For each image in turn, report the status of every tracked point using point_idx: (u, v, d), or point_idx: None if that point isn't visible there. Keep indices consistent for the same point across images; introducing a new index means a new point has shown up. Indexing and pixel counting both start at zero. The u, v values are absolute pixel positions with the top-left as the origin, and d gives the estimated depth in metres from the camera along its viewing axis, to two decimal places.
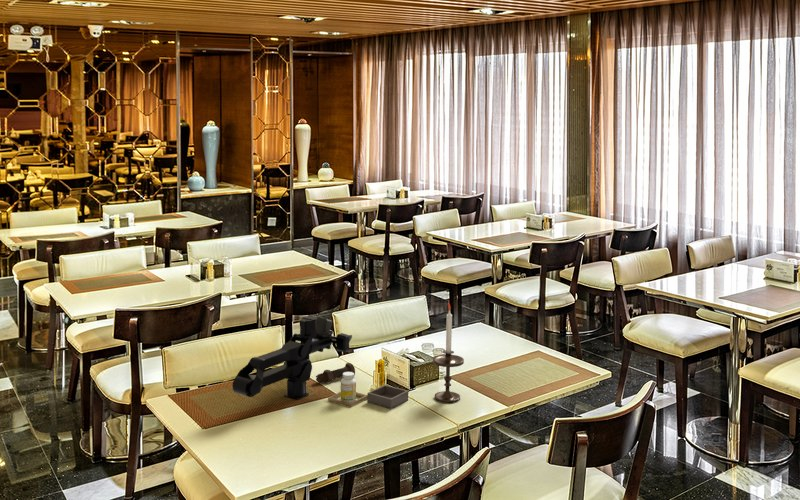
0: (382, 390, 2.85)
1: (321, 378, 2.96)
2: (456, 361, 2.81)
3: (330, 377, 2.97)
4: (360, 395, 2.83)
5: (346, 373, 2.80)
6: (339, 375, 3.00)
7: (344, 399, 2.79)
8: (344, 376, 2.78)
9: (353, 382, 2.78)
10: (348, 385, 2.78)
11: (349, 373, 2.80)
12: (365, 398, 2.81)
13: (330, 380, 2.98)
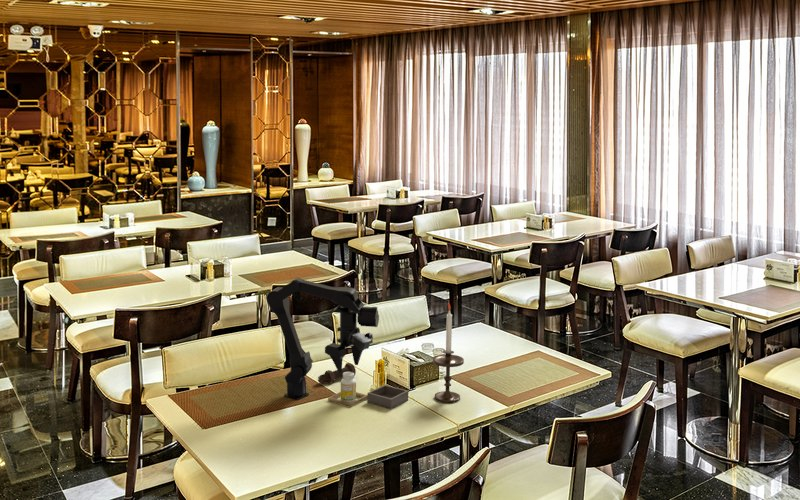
0: (382, 390, 2.85)
1: (324, 379, 2.95)
2: (456, 361, 2.81)
3: (332, 378, 2.96)
4: (360, 395, 2.83)
5: (346, 373, 2.80)
6: (340, 375, 3.00)
7: (344, 399, 2.79)
8: (344, 376, 2.78)
9: (353, 382, 2.78)
10: (348, 385, 2.78)
11: (349, 373, 2.80)
12: (365, 398, 2.81)
13: (332, 381, 2.97)
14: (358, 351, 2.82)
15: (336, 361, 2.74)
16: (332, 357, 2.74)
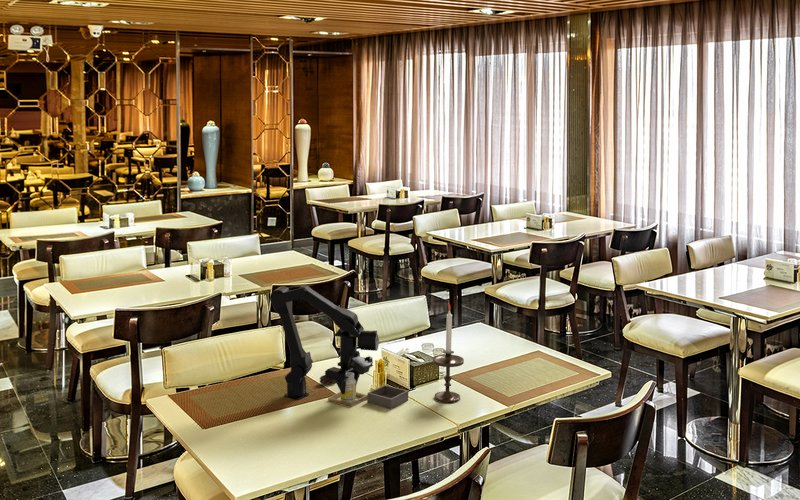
0: (382, 390, 2.85)
1: (326, 379, 2.94)
2: (456, 361, 2.81)
3: None
4: (360, 395, 2.83)
5: (346, 373, 2.80)
6: None
7: (344, 399, 2.79)
8: None
9: (353, 382, 2.78)
10: (348, 385, 2.78)
11: (349, 373, 2.80)
12: (365, 398, 2.81)
13: (334, 381, 2.97)
14: (355, 375, 2.82)
15: (339, 383, 2.77)
16: (335, 379, 2.77)
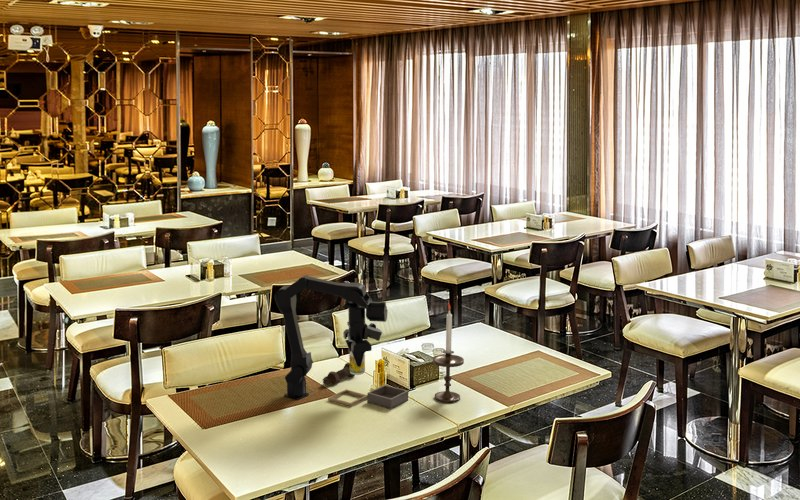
0: (382, 390, 2.85)
1: (329, 380, 2.93)
2: (456, 361, 2.81)
3: (337, 378, 2.96)
4: (360, 395, 2.83)
5: None
6: (343, 376, 3.00)
7: (359, 372, 2.77)
8: None
9: (364, 353, 2.78)
10: (363, 357, 2.76)
11: None
12: (365, 398, 2.81)
13: (337, 382, 2.96)
14: None
15: (358, 356, 2.74)
16: (354, 353, 2.73)
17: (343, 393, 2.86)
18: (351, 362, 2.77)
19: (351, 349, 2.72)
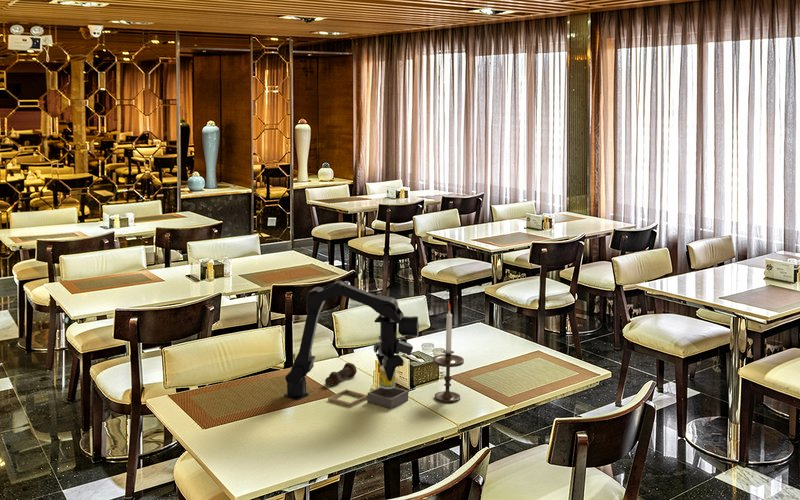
0: (382, 390, 2.85)
1: (332, 381, 2.93)
2: (456, 361, 2.81)
3: (339, 379, 2.95)
4: (360, 395, 2.83)
5: None
6: (344, 376, 3.00)
7: (390, 386, 2.77)
8: None
9: None
10: (394, 371, 2.76)
11: None
12: (365, 398, 2.81)
13: (339, 382, 2.96)
14: None
15: (389, 371, 2.74)
16: (386, 368, 2.73)
17: (343, 393, 2.86)
18: (382, 376, 2.77)
19: (383, 364, 2.72)
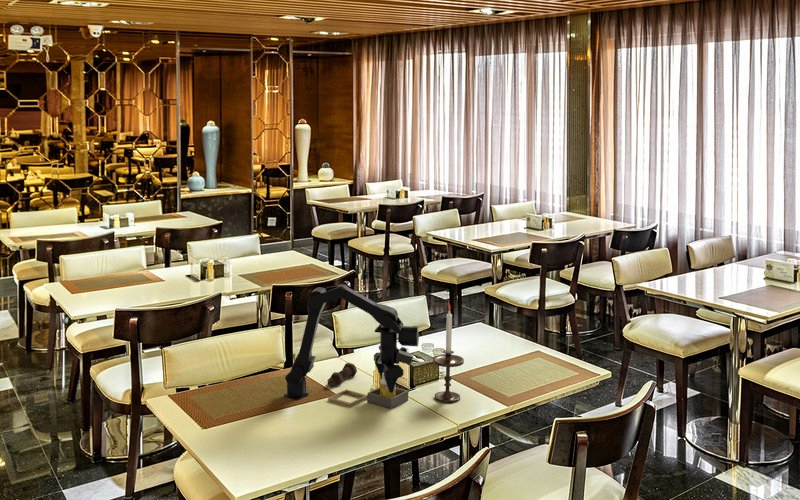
0: None
1: (335, 381, 2.93)
2: (456, 361, 2.81)
3: (341, 379, 2.95)
4: (360, 395, 2.83)
5: None
6: (345, 376, 3.00)
7: None
8: None
9: None
10: None
11: None
12: (365, 398, 2.81)
13: (341, 382, 2.96)
14: None
15: (390, 383, 2.73)
16: (387, 379, 2.72)
17: (343, 393, 2.86)
18: (382, 390, 2.78)
19: (384, 375, 2.71)
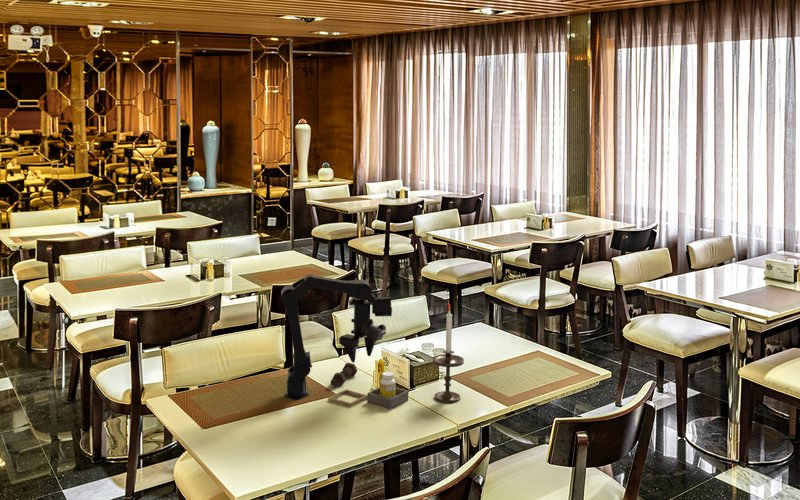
0: None
1: (338, 381, 2.92)
2: (456, 361, 2.81)
3: (344, 379, 2.95)
4: (360, 395, 2.83)
5: (386, 374, 2.78)
6: (347, 376, 2.99)
7: None
8: (388, 377, 2.77)
9: None
10: (393, 384, 2.77)
11: (388, 373, 2.79)
12: (365, 398, 2.81)
13: (343, 382, 2.96)
14: (371, 342, 2.88)
15: (350, 352, 2.80)
16: (346, 348, 2.80)
17: (343, 393, 2.86)
18: (382, 390, 2.78)
19: None
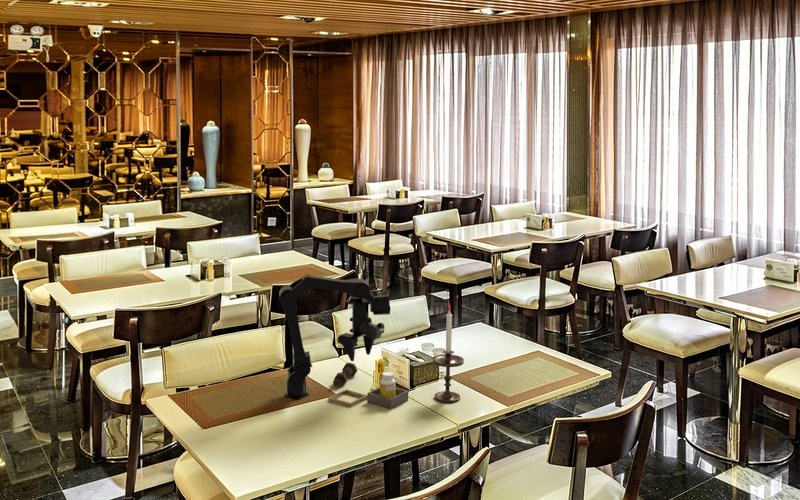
0: None
1: (341, 382, 2.92)
2: (456, 361, 2.81)
3: (346, 379, 2.95)
4: (360, 395, 2.83)
5: (386, 374, 2.78)
6: (348, 376, 2.99)
7: None
8: (388, 377, 2.77)
9: None
10: (393, 384, 2.77)
11: (388, 373, 2.79)
12: (365, 398, 2.81)
13: (345, 382, 2.96)
14: (370, 341, 2.88)
15: (348, 351, 2.81)
16: (345, 346, 2.81)
17: (343, 393, 2.86)
18: (382, 390, 2.78)
19: None
